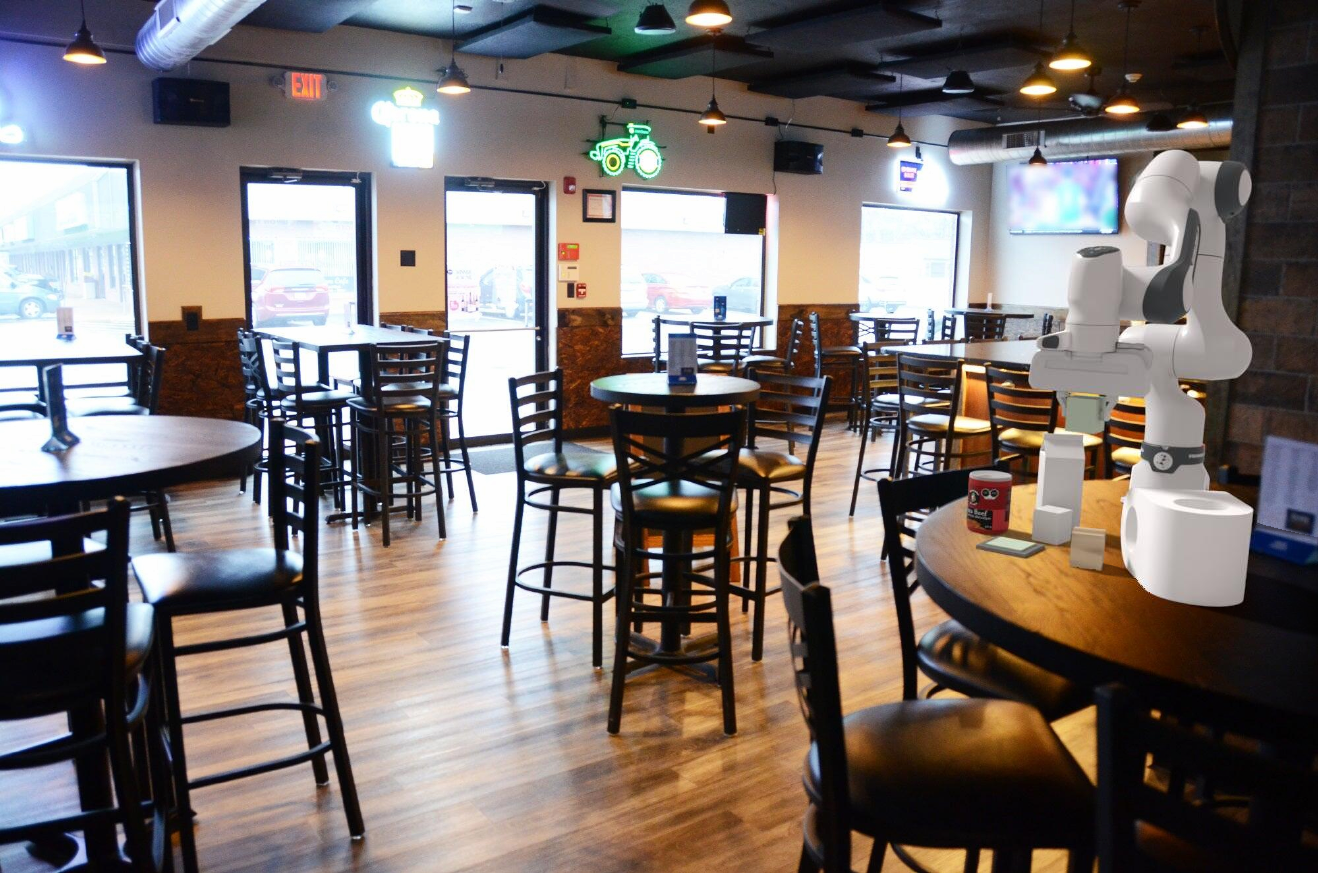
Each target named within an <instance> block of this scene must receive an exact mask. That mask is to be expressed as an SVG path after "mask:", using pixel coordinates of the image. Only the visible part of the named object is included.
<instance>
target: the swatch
mask: <svg viewBox="0 0 1318 873" xmlns="http://www.w3.org/2000/svg"><path fill="white" fill-rule="evenodd" d="M975 548H976V550H977V549H978V550H982V551H983V550H984V551H988V552H992V553H993V552H994V553H998V554H1003V555H1007V556H1011V557H1018V558H1022V559H1026V558H1027V557H1030V556H1032V555H1033V554H1035V553H1037V552H1039V551H1042V550H1043V549H1045V548H1046V546H1045V544H1044V543H1036V542H1032V541H1027V540H1022V539H1015V538H1011V537H1005V536H1000V535H996V536H994V537H991V538H990V539H987V540H985V541H982V542H979V543H978V544H976V545H975Z"/></svg>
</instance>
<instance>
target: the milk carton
mask: <svg viewBox="0 0 1318 873" xmlns="http://www.w3.org/2000/svg"><path fill="white" fill-rule="evenodd" d="M1084 446H1085V445H1084V434H1072V433H1071V434H1070V433H1051V432H1050V433H1047V432H1044V433H1043V440H1042V442H1041V446H1040V449H1039V457H1038V458H1039V459H1038V462H1039V463H1038V473H1037V474H1038V475H1037V488H1036V500H1035V501H1036V502H1035V508H1038V507H1042V506H1046V505H1050V506H1055V507H1060V508H1065V509H1070V510H1073V514H1072V526H1071V536H1072V532H1073V529H1074V527H1075V526H1076V527H1081V514H1082V500H1083V491H1084V476H1085V475H1084V474H1085V464H1086V454H1085V447H1084Z"/></svg>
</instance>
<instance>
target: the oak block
mask: <svg viewBox="0 0 1318 873" xmlns="http://www.w3.org/2000/svg"><path fill="white" fill-rule="evenodd" d="M1106 532H1107V530H1106V529H1102V528H1094V527H1093V528H1091V527H1083V526H1080V527H1076V526H1075V527H1074V529H1073V532H1072V535H1071V538H1070V541H1071V542H1070V553H1069V555H1070V556H1069V566H1070V568H1077V567H1079V568H1078V569H1084V570H1092V569H1096V570H1095V571H1102V570H1103V565H1104V560H1105V559H1104V557H1105V545H1106V534H1107V533H1106Z"/></svg>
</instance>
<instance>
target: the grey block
mask: <svg viewBox="0 0 1318 873" xmlns="http://www.w3.org/2000/svg"><path fill="white" fill-rule="evenodd" d="M1032 514H1033V515H1032V516H1033V517H1032V527H1031V528H1032V530H1031V540H1032V541H1035V542H1040V543H1043V544H1044V543H1045V544H1049V545H1054V546H1058V545H1062V544H1064V543H1068V542H1070V541H1071V539H1072V535H1071V526H1072V514H1073V510H1070V509H1065V508H1060V507H1055V506H1050V505H1046V506H1042V507H1038V508H1036V507H1035V508H1033V513H1032Z"/></svg>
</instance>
